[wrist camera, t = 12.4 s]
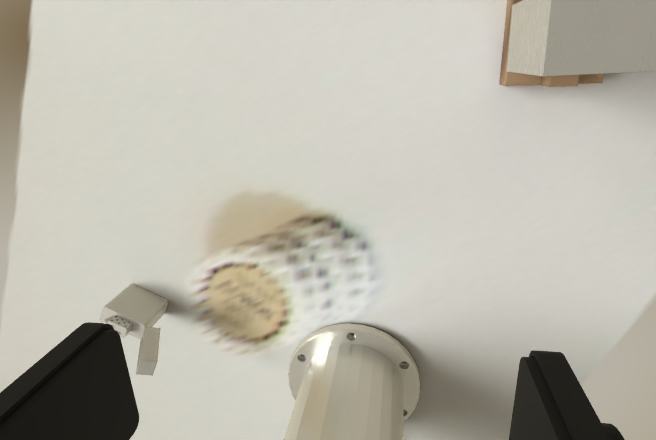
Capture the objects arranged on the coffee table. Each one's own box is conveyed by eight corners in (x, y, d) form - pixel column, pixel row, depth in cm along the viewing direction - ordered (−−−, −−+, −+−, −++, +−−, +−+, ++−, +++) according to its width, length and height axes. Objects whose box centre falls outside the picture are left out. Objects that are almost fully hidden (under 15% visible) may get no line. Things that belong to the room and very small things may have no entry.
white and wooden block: (604, 66, 28) (677, 69, 21) (506, 71, 29) (542, 76, 22) (617, -16, 26) (701, -44, 19) (513, -7, 27) (554, -31, 20)
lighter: (127, 296, 43) (70, 345, 36) (130, 283, 43) (73, 330, 35) (191, 326, 43) (148, 381, 36) (196, 312, 43) (153, 366, 35)
